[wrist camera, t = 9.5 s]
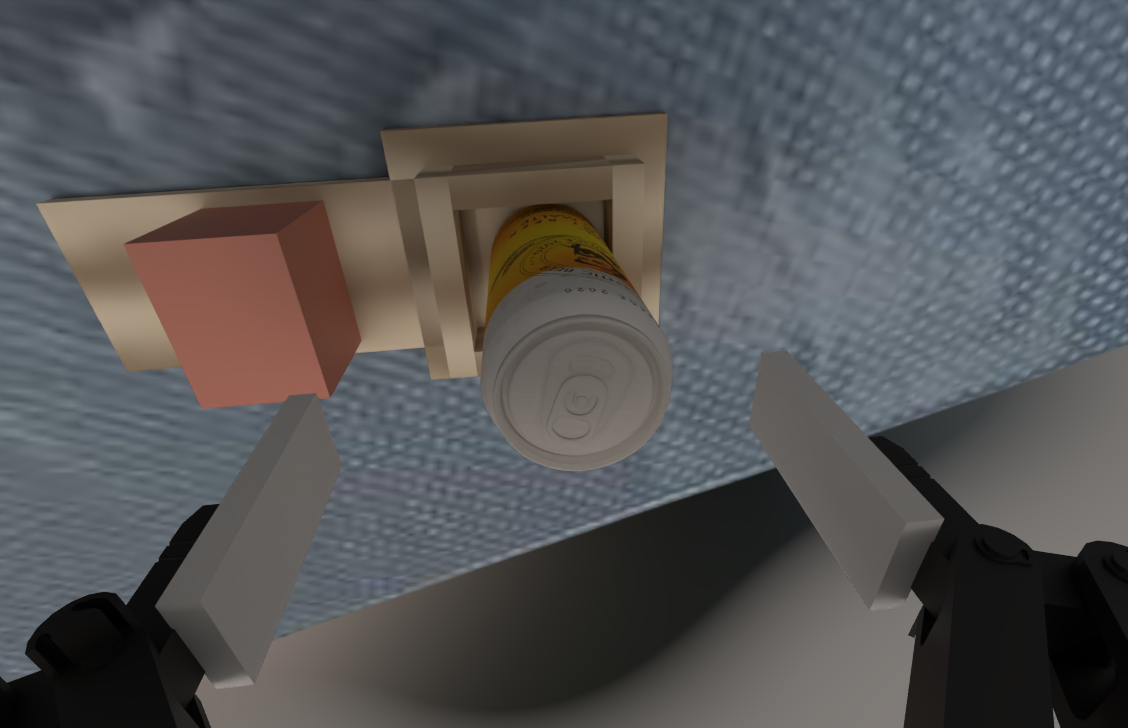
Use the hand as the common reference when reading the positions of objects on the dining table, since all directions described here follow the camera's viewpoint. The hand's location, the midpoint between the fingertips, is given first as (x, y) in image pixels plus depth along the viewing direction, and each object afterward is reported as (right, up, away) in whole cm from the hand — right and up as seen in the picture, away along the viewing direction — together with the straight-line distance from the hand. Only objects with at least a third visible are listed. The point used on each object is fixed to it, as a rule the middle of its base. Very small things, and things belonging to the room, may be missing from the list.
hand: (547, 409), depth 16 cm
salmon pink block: (-14, +6, +12) cm, 20 cm away
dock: (-10, +7, +14) cm, 18 cm away
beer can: (0, +7, +13) cm, 15 cm away
